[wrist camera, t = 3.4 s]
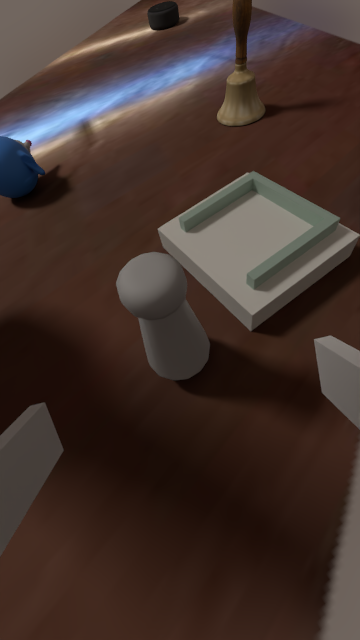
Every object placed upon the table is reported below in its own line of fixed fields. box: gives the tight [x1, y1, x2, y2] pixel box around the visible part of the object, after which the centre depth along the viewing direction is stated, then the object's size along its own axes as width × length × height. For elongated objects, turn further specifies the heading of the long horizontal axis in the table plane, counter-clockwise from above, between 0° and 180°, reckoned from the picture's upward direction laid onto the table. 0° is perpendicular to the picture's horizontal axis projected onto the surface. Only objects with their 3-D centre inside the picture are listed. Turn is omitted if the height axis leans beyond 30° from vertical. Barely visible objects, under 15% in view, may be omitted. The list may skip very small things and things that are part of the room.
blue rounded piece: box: [0, 136, 45, 198], centre depth 46 cm, size 12×12×8 cm
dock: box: [158, 171, 360, 331], centre depth 31 cm, size 16×14×4 cm
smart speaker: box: [148, 1, 179, 30], centre depth 81 cm, size 9×9×4 cm
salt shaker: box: [116, 252, 210, 380], centre depth 22 cm, size 6×6×13 cm
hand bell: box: [217, 0, 265, 126], centre depth 42 cm, size 8×8×16 cm
